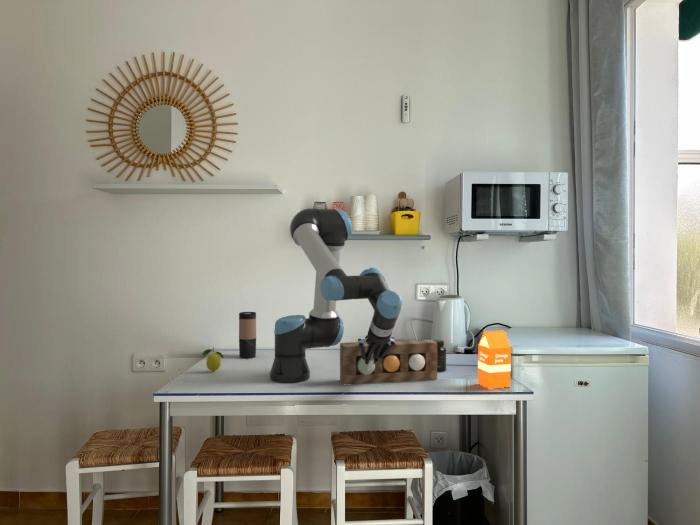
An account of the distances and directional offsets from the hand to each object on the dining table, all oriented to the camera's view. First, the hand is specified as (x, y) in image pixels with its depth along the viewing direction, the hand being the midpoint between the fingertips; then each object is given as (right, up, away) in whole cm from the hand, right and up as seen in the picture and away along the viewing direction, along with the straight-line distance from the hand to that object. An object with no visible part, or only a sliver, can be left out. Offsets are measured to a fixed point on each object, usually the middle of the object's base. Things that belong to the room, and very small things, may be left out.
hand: (368, 367), depth 184 cm
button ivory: (+18, -3, +9) cm, 21 cm away
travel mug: (-53, -5, +48) cm, 71 cm away
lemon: (-61, -6, +20) cm, 64 cm away
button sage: (-1, -3, +3) cm, 4 cm away
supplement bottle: (+29, -6, +25) cm, 39 cm away
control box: (+8, -7, +10) cm, 14 cm away
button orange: (+9, -3, +7) cm, 11 cm away
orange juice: (+46, -7, +2) cm, 46 cm away
